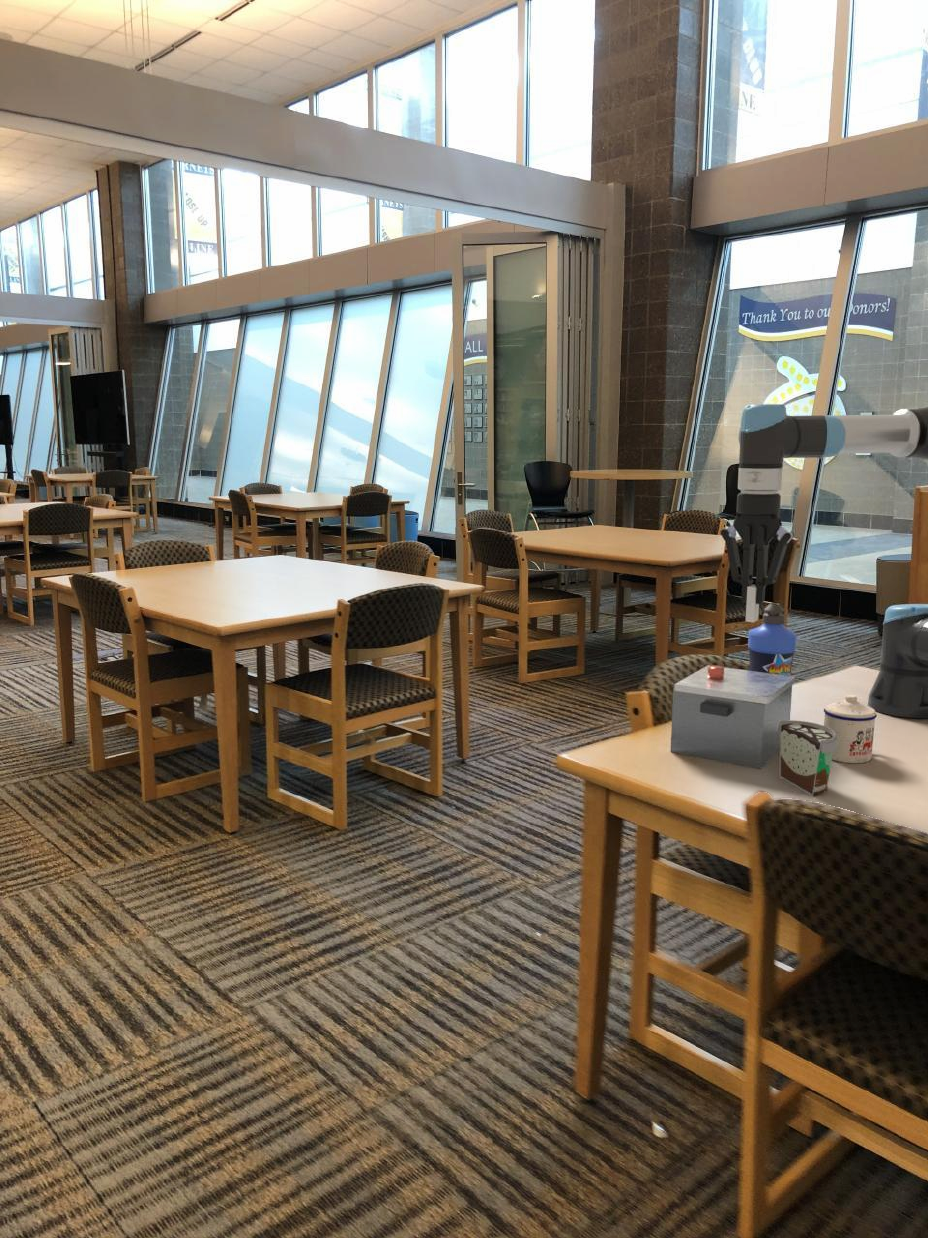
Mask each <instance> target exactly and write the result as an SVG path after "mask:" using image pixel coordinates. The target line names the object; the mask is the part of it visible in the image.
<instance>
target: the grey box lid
mask: <svg viewBox="0 0 928 1238" xmlns="http://www.w3.org/2000/svg"><path fill="white" fill-rule="evenodd" d="M794 684H796V676H793V675H792V676H786V675H778V674H771V673H763V672H755V671H749V669H747V670H746V669H741V668H740V669H737V668H733V667H732V668H731V667H724V666H722V665H721V666H720V665H709V664H708V665H706V666H705V667H703V668H701V669H699V670H698V671H696V672H694V673H692V674H690V675H689V676H686V677H685V678H683V679H681V680H680V681H677V682H676V683H674V684H673V685H674V686H673V687H674V688H673V690H674V691H681V692H687V693H694V694H701V695H708V696H714V697H721V698H728V699H735V700H741V701H748V702H755V703H762V704H768V703H770V702H771V701H772V700H773V699H775V698H776V697H777V696H779V695H780V694H781V693H783V692H784V691H785V690H786V689H788V688H789V687H790V686H792V687H793V685H794Z"/></svg>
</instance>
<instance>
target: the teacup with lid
mask: <svg viewBox="0 0 928 1238" xmlns="http://www.w3.org/2000/svg"><path fill="white" fill-rule="evenodd" d="M823 712H824V717H823V718H824V721H823V726H826V727H828V728H830V729H832V730H833V731H834V732H835V735H836V737H837V742H838V748H837V749H836V750H834V751H833V754H832V760H831V761H834V762H840V763H845V764H865V763H867V762H869V761H870V760H871V759H872V754H873V745H874V732H875V724H876V723H875V722H876V721H875V720H876V718H877V716H878V715H877V711H876V710H874V709H873V708H871V707H869V706H868V705H866V704H865V703H862V702H861V701H858V697H857V695H855V694H847V695H845V698H844V699H840V700H838V701H836V702H830V703H828V704H826V705H825V707H824V708H823Z"/></svg>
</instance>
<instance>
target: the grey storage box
mask: <svg viewBox="0 0 928 1238" xmlns="http://www.w3.org/2000/svg"><path fill="white" fill-rule="evenodd" d="M791 688H792V689H793V685H792V686H790V687H789V688H788V689H786V690H785V691H784V692H783V693H781V694H780V695H779V696H777V697H776V698H775V699H773V700H772V701H771V702H770V703H768V704H762V703H755V702H748V701H741V700H735V699H728V698H721V697H714V696H708V695H701V694H694V693H687V692H681V691H674V689H673V691H672V708H671V709H672V712H671V731H670V733H671V735H670V752H671V751H673V752H672V753H676V752H677V754H682V755H687V756H691V757H697V758H701V759H707V760H711V761H716V762H722V763H726V764H730V765H731V764H732V765H736V766H737V765H738V766H741V767H742V766H743V767H746V768H747V767H748V768H752V769H757V770H762V768H764V767H765V766H766V765H767V764H768V763H769V762H770V761H771V760H772V759H773V758H775V756H776V755H778V754H779V753H780V731H778V727H779V724H780V721H783V720H789V716H790V717H791V711H790V702H791V703H792V697H791Z"/></svg>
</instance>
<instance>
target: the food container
mask: <svg viewBox="0 0 928 1238" xmlns="http://www.w3.org/2000/svg"><path fill="white" fill-rule="evenodd" d="M778 731H780V751H779V778H781V779H782V780H783V781H786V782H788V783H789V784H791V785H793V786H794V787H796V788H798V789H799V790H801V791H803V792H805V793H806V794H808V795H810V796H812V797H817V796H822V795H823V794H825V793H826V791H827V787H828V782H829V777H830V770H831V764H832V761H833V760H832V754H833V751H834V750H836V749H837V748H838V742H837V737H836V735H835V732H834V731H833V730H832V729H830V728H828V727H826V726H824V724H819V723H815V722H812V721H811V722H810V721H806V720H805V721H804V720H793V719H792V720H791V719H790V720H783V721H780V724H779V727H778Z"/></svg>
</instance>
